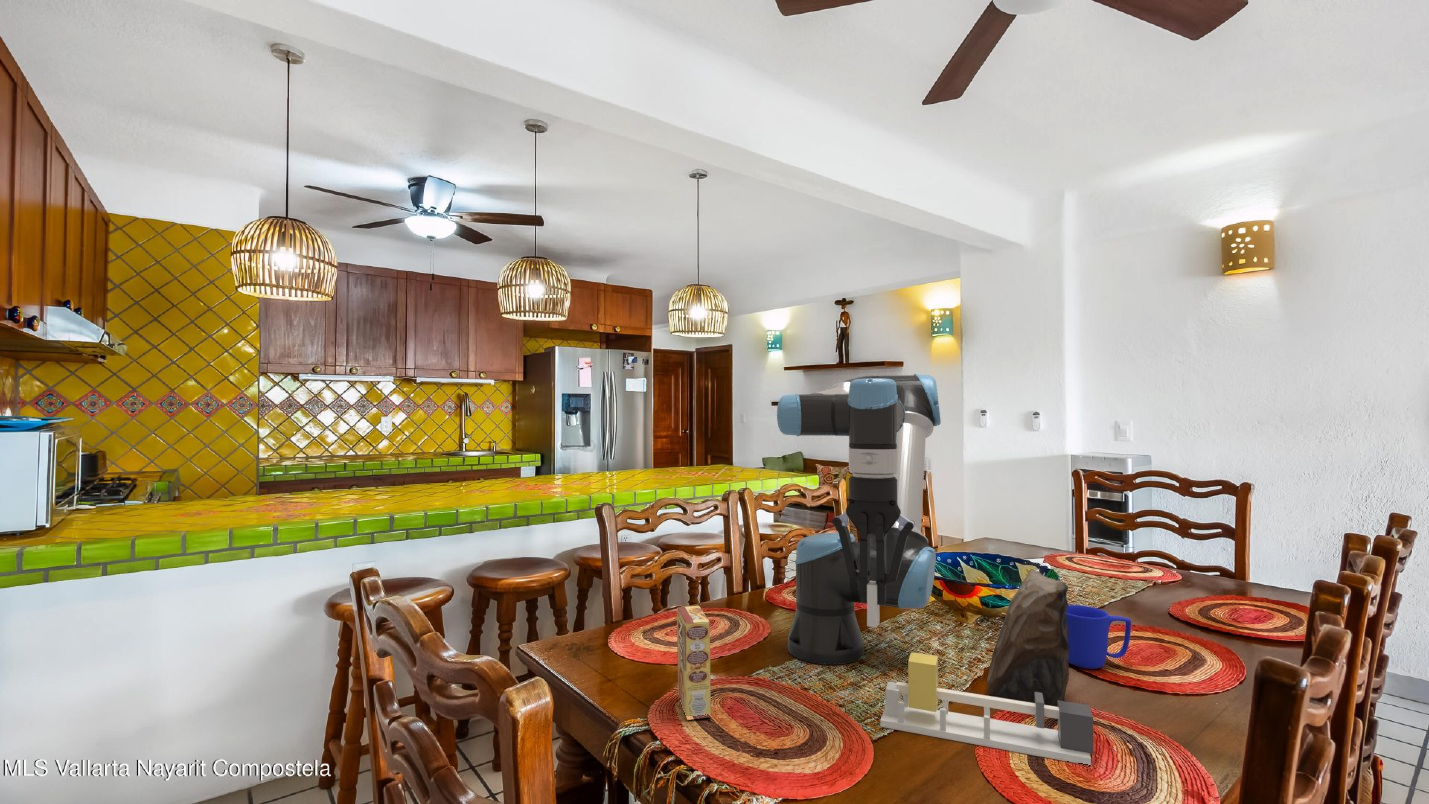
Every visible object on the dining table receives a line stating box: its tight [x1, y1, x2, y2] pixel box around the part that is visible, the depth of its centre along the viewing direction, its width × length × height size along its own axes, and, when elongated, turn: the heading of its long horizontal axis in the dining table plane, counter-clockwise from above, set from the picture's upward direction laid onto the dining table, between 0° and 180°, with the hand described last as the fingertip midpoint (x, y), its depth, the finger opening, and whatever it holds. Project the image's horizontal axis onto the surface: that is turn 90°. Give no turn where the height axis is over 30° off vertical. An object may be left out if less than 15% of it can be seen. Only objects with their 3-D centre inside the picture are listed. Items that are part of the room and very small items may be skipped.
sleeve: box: [907, 652, 939, 712], centre depth 99 cm, size 4×4×7 cm
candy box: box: [676, 605, 712, 716], centre depth 105 cm, size 9×4×15 cm, turn 13°
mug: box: [1066, 604, 1132, 670], centre depth 122 cm, size 8×12×10 cm
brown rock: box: [986, 569, 1070, 707], centre depth 109 cm, size 13×13×20 cm
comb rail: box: [879, 681, 1094, 766], centre depth 96 cm, size 28×7×7 cm, turn 67°
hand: (873, 624), depth 102 cm, fingers closed
